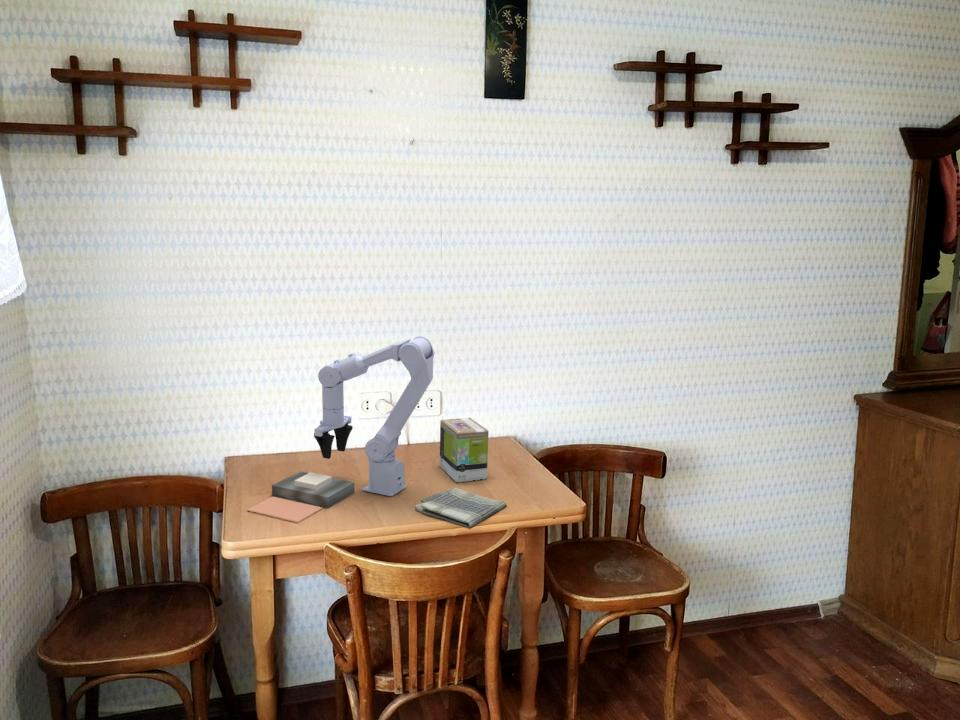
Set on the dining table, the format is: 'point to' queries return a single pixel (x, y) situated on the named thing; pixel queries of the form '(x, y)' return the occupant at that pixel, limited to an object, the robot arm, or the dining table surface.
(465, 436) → the tea box
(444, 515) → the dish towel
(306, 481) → the coaster
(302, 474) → the plate
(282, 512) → the mat
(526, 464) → the dining table surface
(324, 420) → the robot arm
